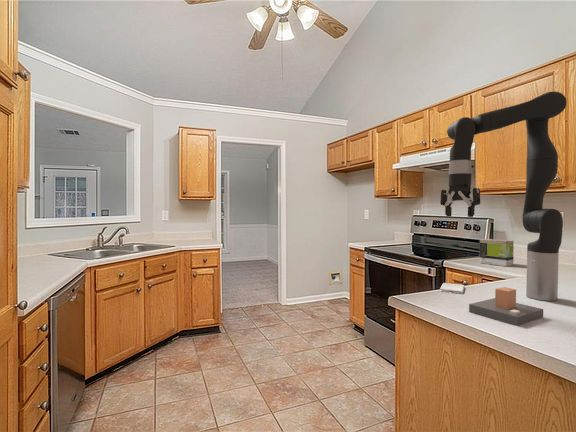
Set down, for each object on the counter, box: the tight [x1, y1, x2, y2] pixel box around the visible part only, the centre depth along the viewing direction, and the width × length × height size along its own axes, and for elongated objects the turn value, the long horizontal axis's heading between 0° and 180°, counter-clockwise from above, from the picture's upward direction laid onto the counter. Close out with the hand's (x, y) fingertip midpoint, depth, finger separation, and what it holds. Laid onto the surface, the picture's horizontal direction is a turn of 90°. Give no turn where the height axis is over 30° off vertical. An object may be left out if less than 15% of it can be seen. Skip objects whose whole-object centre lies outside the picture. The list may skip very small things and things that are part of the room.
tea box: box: [479, 238, 515, 267], centre depth 195 cm, size 15×10×15 cm, turn 34°
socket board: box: [468, 297, 544, 327], centre depth 101 cm, size 15×14×3 cm
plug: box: [494, 286, 517, 309], centre depth 101 cm, size 5×4×8 cm
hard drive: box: [439, 282, 465, 295], centre depth 133 cm, size 2×8×12 cm
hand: (459, 216), depth 121 cm, fingers open, 8 cm apart
